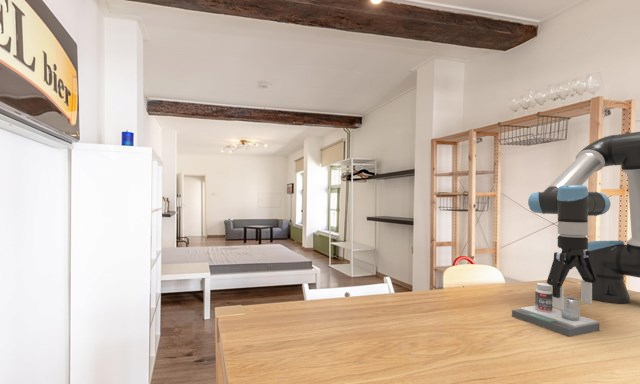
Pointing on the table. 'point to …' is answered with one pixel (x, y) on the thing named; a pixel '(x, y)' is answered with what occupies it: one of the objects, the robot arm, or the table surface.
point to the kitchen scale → (556, 321)
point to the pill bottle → (543, 297)
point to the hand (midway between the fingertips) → (572, 305)
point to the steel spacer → (570, 309)
